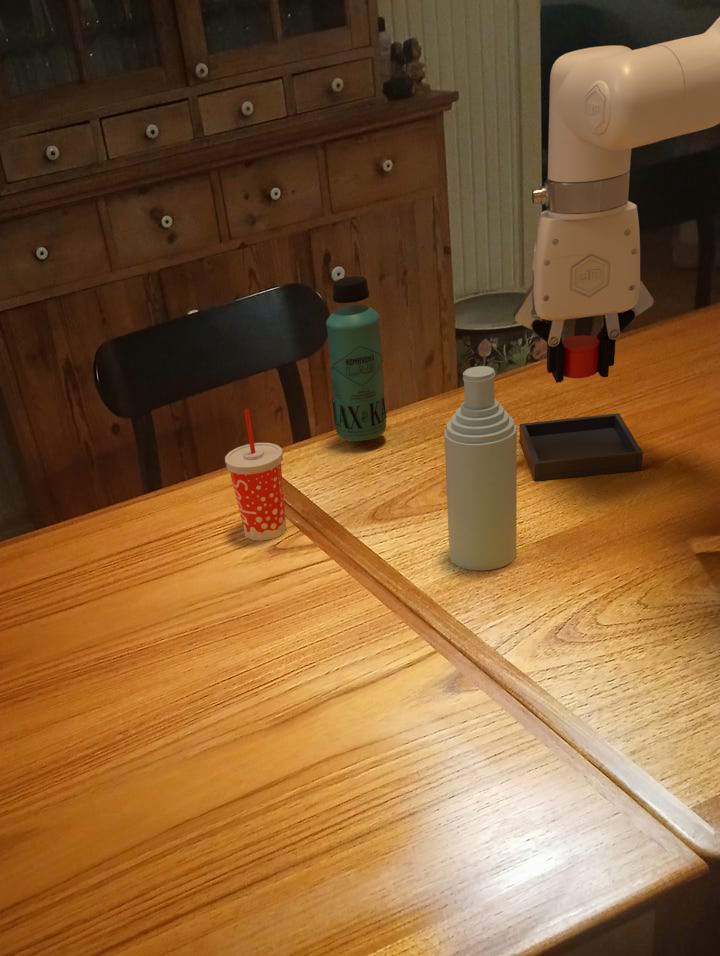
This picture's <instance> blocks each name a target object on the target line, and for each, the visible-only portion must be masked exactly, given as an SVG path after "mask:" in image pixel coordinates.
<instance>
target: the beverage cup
mask: <svg viewBox="0 0 720 956" xmlns="http://www.w3.org/2000/svg"><path fill="white" fill-rule="evenodd" d="M243 412H244V417H245V418H244V419H245V424H246V431H247V437H248V442H249V443H248V444H244V445H241V446H238V447H236V448H233V449H232V450H230V451H229V452H227V454H226V455H225V456H224V462H225V466H226V469H227V470H228V471H229V474H230V478H231V482H232V487H233V491H234V495H235V499H236V504H237V507H238V512H239V516H240V520H241V523H242V528H243V532H244V536H245V537H246V538H247V539H249V540H253V541H260V542H261V541H262V542H263V541H269V540H273V539H276V538H278V537H280V536H282V535H283V534H284V533H285V532H286V530H287V524H286V522H287V521H286V511H285V499H284V497H285V496H284V484H283V471H282V470H283V469H282V462H283V461H284V457H283V455H284V454H283V449H282V448H283V447H280V445H278V444H275V443H271V442H255V440H254V435H253V429H252V422H251V415H250V409H249V408H248V407H245V408H244V410H243Z"/></svg>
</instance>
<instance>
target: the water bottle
mask: <svg viewBox="0 0 720 956" xmlns="http://www.w3.org/2000/svg"><path fill="white" fill-rule="evenodd" d="M495 377H496V371H495V369H494V368H493V367H491V366H486V365H480V366H479V365H478V366H473V367H469V368H467V369H466V370H464V371H463V372H462V380H463V391H464V393H463V394H464V395H463V396H464V401H463V402H461V404H460V407H458V408H457V409H456V411H455V413H454V414H453V415H452V417H451V419H450V420H448V422H447V423H446V428H445V429H444V433H443V434H444V459H445V462H444V463H445V484H446V486H445V487H446V505H447V506H446V507H447V509H446V510H447V511H446V512H447V531H448V532H447V533H448V555H449V559H450V561H451V562H452V563H453V565H455V566H457V567H459V568H462V569H465V570H469V571H477V572H478V571H480V572H483V571H491V570H497V569H500V568H503V567H506V566H508V565H509V564H511V563H512V562H513V561H514V560H515V559H516V556H517V529H518V528H517V525H518V523H517V519H518V517H517V516H518V515H517V509H518V507H517V505H518V504H517V502H518V501H517V500H518V499H517V491H518V490H517V489H518V488H517V477H518V476H517V473H518V470H517V469H518V468H517V467H518V465H517V459H518V456H517V455H518V453H517V452H518V450H517V449H518V448H517V447H518V446H517V445H518V444H517V443H518V441H517V440H518V433H517V432H518V428H517V425H516V423H515V420H514V418H513V417H512V416H511V415H510V414H509V412H508V411H507V410H505V408H504V406H503V405H502V404H500V402H499V401H498V399H496V398H495V397H496V396H495V395H496V394H495V391H496V389H495Z"/></svg>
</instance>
